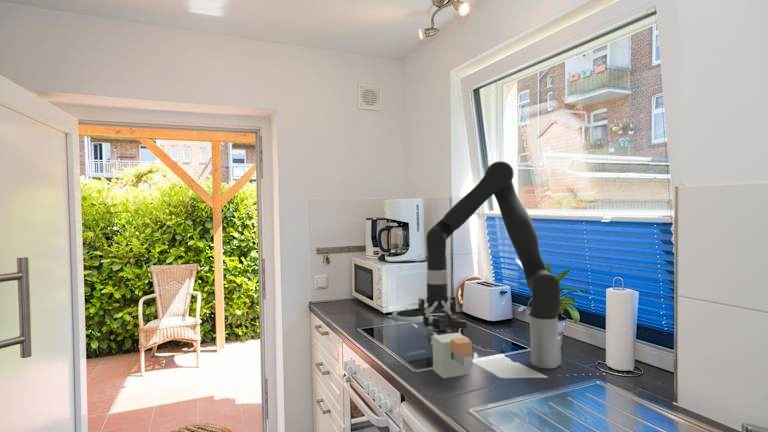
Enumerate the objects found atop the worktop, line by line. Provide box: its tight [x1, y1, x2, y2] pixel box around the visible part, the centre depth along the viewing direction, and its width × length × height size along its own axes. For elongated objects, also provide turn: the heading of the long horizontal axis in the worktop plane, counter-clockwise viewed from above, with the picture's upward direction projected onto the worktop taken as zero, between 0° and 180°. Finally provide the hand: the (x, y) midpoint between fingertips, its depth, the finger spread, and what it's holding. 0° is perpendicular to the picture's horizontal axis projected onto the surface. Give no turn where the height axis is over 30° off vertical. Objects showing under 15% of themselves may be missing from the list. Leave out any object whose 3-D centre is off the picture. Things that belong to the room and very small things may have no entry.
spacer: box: [451, 337, 473, 356], centre depth 141 cm, size 5×5×4 cm
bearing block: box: [432, 332, 471, 379], centre depth 148 cm, size 10×8×12 cm
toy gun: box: [428, 314, 468, 334], centre depth 203 cm, size 5×21×15 cm
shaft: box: [425, 331, 474, 367], centre depth 150 cm, size 4×28×4 cm, turn 19°
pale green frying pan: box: [391, 309, 423, 324], centre depth 225 cm, size 18×4×25 cm
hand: (437, 325), depth 158 cm, fingers open, 8 cm apart
